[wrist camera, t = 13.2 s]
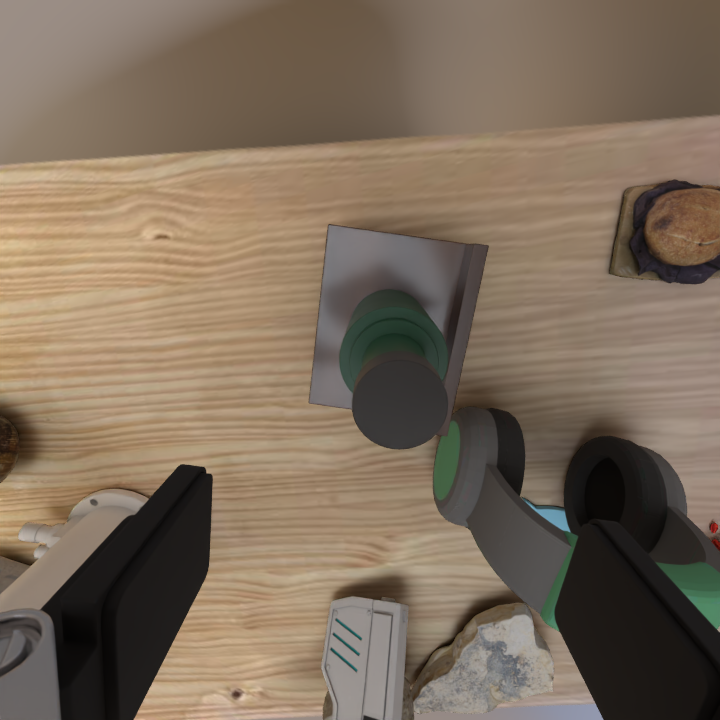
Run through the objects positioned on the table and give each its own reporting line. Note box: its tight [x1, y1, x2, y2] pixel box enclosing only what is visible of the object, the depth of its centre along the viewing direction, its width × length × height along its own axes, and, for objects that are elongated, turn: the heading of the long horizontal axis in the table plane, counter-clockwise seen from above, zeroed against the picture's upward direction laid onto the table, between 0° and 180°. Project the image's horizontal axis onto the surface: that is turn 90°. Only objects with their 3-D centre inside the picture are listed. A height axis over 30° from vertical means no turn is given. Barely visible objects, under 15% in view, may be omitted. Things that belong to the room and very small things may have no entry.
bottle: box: [339, 289, 448, 449], centre depth 23 cm, size 6×6×16 cm
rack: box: [309, 224, 489, 436], centre depth 33 cm, size 11×14×10 cm
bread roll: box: [609, 180, 720, 284], centre depth 34 cm, size 11×8×4 cm
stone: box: [411, 603, 554, 714], centre depth 47 cm, size 21×12×5 cm, turn 141°
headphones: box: [433, 407, 720, 632], centre depth 32 cm, size 19×11×20 cm, turn 77°
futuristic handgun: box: [321, 596, 409, 720], centre depth 42 cm, size 3×20×15 cm
